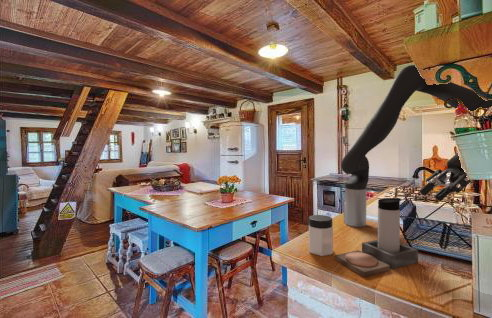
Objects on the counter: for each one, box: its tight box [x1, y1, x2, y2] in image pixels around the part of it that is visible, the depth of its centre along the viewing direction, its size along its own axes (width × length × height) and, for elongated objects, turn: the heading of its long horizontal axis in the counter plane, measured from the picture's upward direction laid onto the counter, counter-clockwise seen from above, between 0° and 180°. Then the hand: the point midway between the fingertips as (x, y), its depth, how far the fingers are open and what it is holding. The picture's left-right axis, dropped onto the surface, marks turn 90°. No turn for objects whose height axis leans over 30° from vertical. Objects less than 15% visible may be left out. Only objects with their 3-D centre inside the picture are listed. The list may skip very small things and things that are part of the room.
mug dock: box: [334, 239, 419, 278], centre depth 80 cm, size 12×23×4 cm, turn 111°
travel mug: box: [377, 197, 402, 254], centre depth 82 cm, size 6×7×20 cm
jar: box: [307, 214, 334, 257], centre depth 88 cm, size 9×8×12 cm
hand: (428, 196), depth 79 cm, fingers open, 8 cm apart
